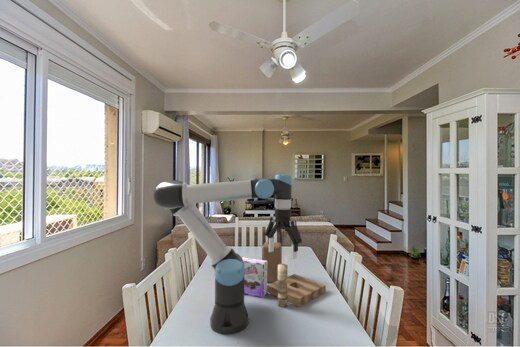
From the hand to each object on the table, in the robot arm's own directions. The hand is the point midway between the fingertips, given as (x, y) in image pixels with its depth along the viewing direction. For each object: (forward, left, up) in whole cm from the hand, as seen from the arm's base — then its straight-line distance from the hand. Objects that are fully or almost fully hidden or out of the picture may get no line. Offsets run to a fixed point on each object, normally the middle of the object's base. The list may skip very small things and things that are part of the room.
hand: (282, 255), depth 119 cm
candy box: (-2, +17, -23) cm, 29 cm away
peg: (0, -1, -23) cm, 23 cm away
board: (+15, +3, -23) cm, 27 cm away
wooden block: (+17, +22, -23) cm, 36 cm away
